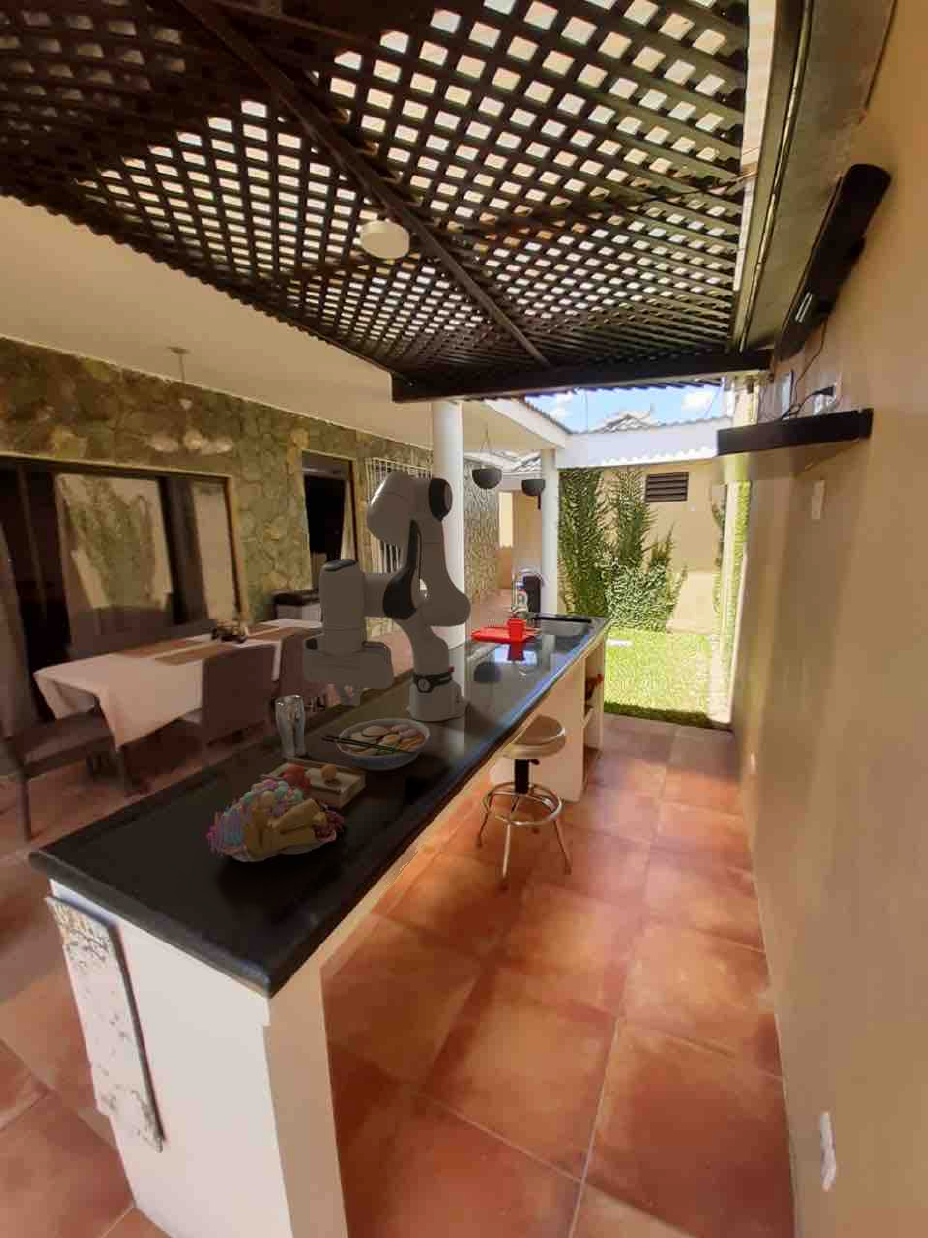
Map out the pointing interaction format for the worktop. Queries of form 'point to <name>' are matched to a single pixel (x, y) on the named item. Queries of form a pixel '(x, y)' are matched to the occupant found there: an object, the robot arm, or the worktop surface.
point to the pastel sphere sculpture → (274, 821)
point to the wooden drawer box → (325, 791)
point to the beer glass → (291, 725)
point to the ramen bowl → (382, 743)
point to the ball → (328, 772)
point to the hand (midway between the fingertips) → (350, 704)
